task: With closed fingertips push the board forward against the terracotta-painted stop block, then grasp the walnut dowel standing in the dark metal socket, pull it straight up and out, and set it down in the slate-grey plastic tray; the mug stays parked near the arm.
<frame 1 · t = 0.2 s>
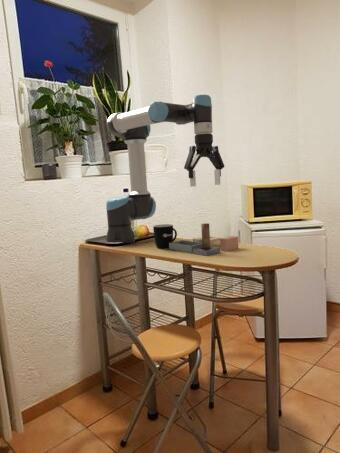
hand: (205, 185, 152), 27 cm above the table, fingers open, 13 cm apart
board: (207, 246, 162), on the table
mug: (167, 247, 165), on the table
dowel: (206, 253, 147), resting in socket
stop block: (229, 249, 152), on the table
tray: (187, 249, 156), on the table
socket: (206, 252, 147), on the table
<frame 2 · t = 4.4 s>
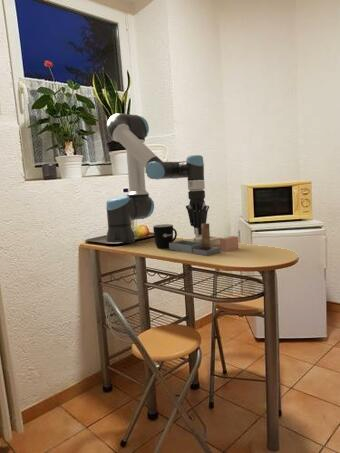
hand: (198, 241, 165), 2 cm above the table, fingers closed
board: (208, 246, 161), on the table, touching gripper
everything else where it was.
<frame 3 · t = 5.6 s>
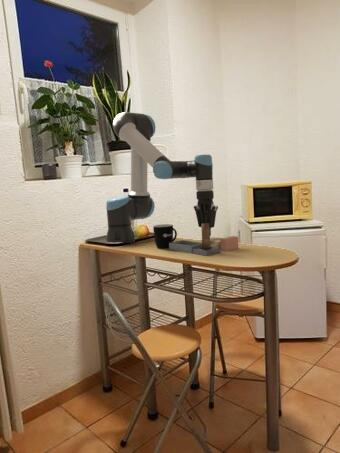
hand: (207, 242, 161), 1 cm above the table, fingers closed
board: (216, 248, 157), on the table, touching gripper
everything else where it was.
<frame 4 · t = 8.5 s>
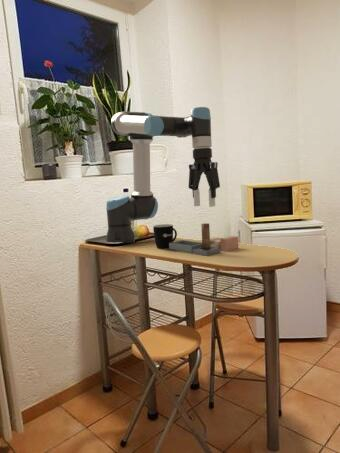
hand: (204, 206, 144), 19 cm above the table, fingers open, 8 cm apart
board: (216, 248, 157), on the table
everything else where it was.
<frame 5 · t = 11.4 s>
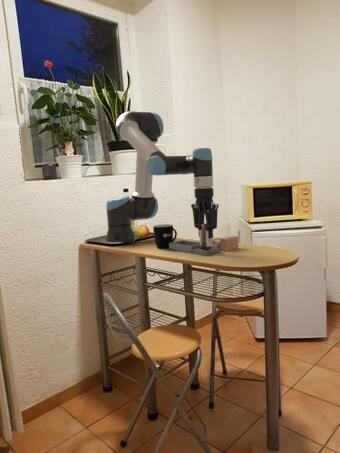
hand: (206, 245, 146), 3 cm above the table, fingers closed on dowel, 3 cm apart
dowel: (206, 252, 147), resting in socket, touching gripper
everything else where it was.
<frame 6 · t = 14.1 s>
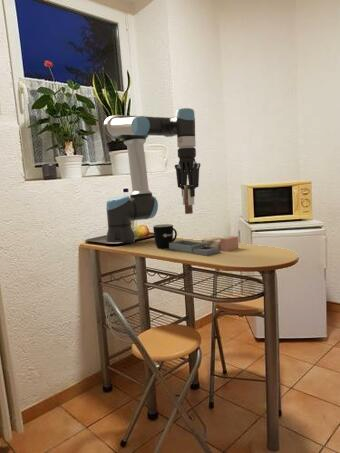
hand: (188, 204, 152), 20 cm above the table, fingers closed on dowel, 3 cm apart
dowel: (188, 213, 152), point 16 cm above the table, touching gripper
everything else where it was.
when the fingers open (6 cm above the table, at t = 17.4 s): dowel drops 1 cm, resting on tray.
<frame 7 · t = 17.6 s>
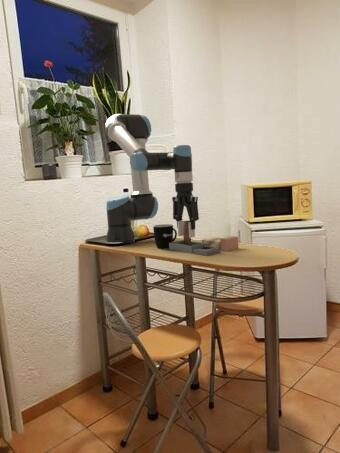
hand: (186, 236, 155), 6 cm above the table, fingers open, 6 cm apart
dowel: (187, 248, 155), point 1 cm above the table, touching tray
everything else where it was.
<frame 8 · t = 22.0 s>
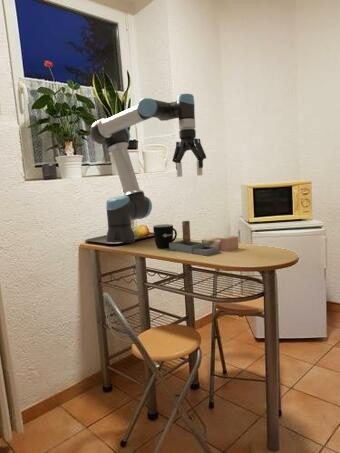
hand: (189, 176, 168), 32 cm above the table, fingers open, 13 cm apart
nothing on the table moved.
at the end: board 0.7 cm from the target spot, on the table; dowel inside the target area on the tray (0.0 cm from its centre), point 0.5 cm above the tray's base; dowel touching tray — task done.
